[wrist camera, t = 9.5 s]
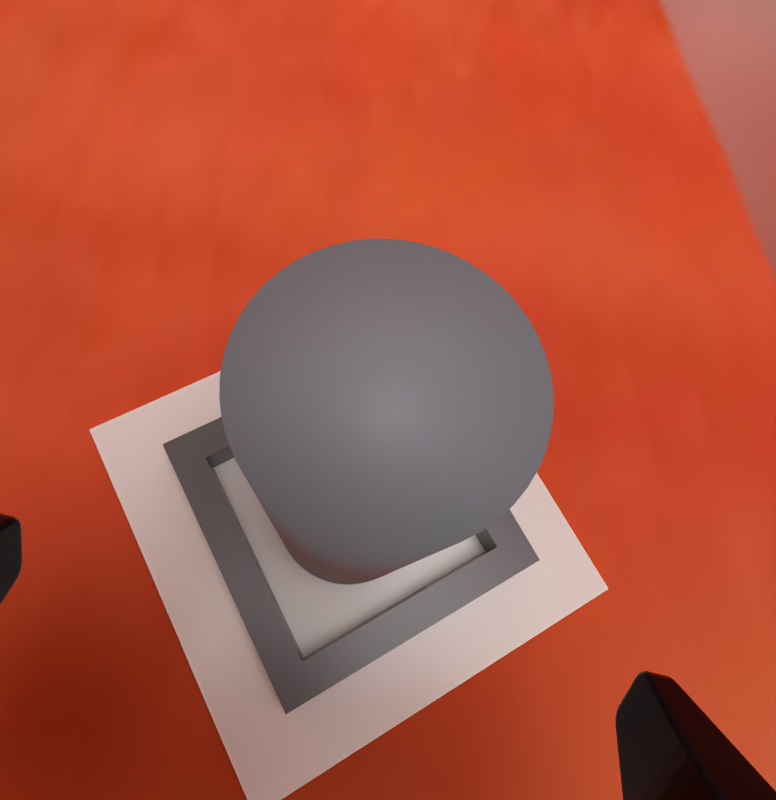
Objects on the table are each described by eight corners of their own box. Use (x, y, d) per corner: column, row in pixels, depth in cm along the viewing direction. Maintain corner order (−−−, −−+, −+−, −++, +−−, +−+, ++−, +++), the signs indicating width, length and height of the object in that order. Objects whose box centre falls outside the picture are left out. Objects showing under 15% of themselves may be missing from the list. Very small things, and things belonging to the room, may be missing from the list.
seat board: (257, 805, 18) (248, 835, 16) (99, 437, 21) (71, 416, 19) (595, 589, 21) (629, 587, 19) (415, 294, 24) (425, 262, 22)
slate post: (373, 613, 19) (457, 627, 8) (248, 535, 20) (146, 433, 8) (443, 487, 21) (604, 339, 9) (327, 416, 21) (337, 187, 10)
